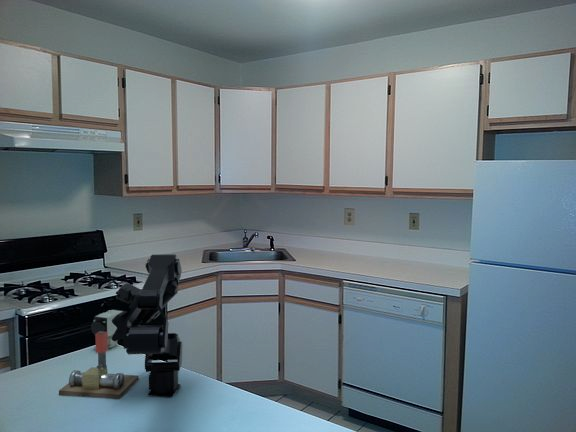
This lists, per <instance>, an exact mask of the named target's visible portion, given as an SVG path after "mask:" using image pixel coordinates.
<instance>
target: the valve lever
mask: <svg viewBox="0 0 576 432" xmlns="http://www.w3.org/2000/svg"><path fill="white" fill-rule="evenodd" d="M94 338H95V353H96V354H97V364H98V365H96V367H97V368H107V369H108V365H107V351H108V350H109V348H108V332H102V331H100V332H98V333H96V334H95V336H94Z"/></svg>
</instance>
